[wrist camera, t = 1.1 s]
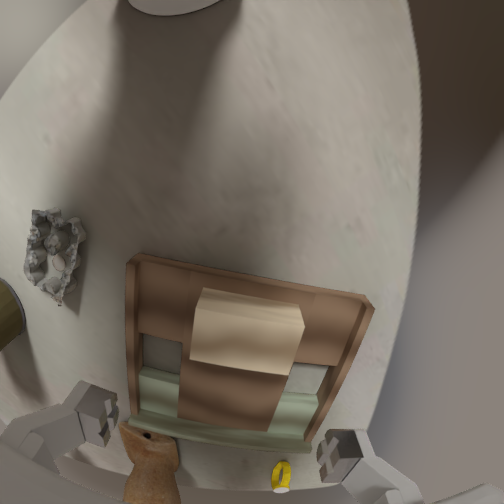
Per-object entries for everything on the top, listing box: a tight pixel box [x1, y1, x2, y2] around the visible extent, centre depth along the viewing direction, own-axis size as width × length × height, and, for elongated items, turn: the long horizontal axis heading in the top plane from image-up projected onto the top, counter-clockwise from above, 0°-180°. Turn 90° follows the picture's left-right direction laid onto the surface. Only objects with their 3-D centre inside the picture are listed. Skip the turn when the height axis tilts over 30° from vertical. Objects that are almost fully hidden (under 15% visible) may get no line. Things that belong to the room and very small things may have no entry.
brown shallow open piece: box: [125, 253, 375, 453], centre depth 33 cm, size 24×26×5 cm
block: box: [190, 287, 305, 375], centre depth 29 cm, size 6×10×4 cm, turn 79°
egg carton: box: [24, 208, 86, 306], centre depth 30 cm, size 11×8×4 cm
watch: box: [271, 461, 291, 493], centre depth 40 cm, size 6×3×6 cm, turn 163°
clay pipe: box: [119, 422, 181, 504], centre depth 35 cm, size 15×12×15 cm
